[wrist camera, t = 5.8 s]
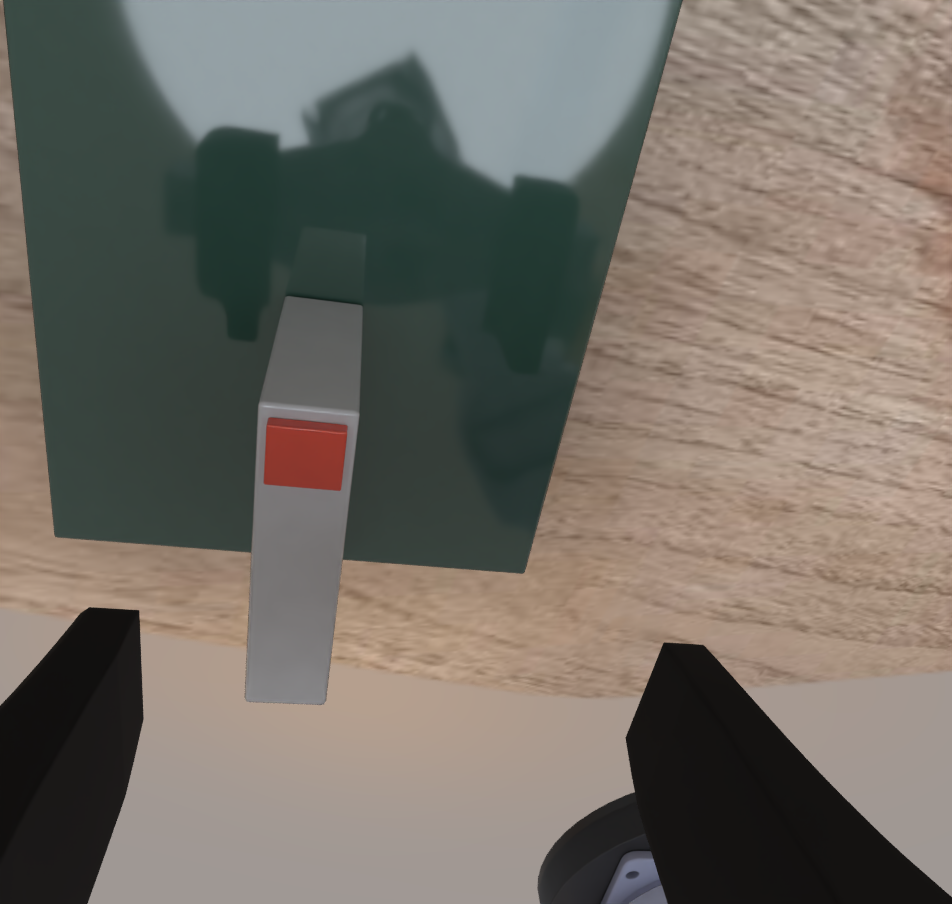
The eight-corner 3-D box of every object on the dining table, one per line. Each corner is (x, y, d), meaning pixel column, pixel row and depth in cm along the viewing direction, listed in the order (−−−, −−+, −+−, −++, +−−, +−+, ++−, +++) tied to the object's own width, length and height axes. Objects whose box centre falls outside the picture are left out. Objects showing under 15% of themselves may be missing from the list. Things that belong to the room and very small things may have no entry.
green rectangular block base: (507, 498, 21) (524, 575, 19) (94, 459, 20) (53, 538, 17) (638, -32, 15) (690, -24, 13) (57, -160, 13) (-17, -180, 11)
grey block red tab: (334, 561, 18) (324, 717, 14) (268, 556, 18) (242, 714, 14) (363, 303, 15) (360, 421, 11) (284, 293, 15) (255, 411, 11)
